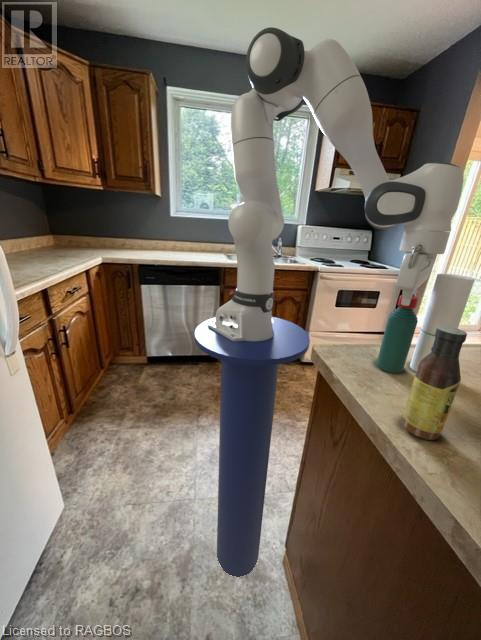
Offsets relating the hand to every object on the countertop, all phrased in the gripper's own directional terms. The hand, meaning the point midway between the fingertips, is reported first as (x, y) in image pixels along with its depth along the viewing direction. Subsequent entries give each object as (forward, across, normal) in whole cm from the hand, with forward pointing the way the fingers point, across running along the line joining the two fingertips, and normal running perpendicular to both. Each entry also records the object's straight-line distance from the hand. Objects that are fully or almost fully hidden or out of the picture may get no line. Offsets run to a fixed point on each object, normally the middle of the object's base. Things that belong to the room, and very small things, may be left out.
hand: (407, 302), depth 66 cm
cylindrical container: (+18, +6, -7) cm, 20 cm away
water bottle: (+18, 0, 0) cm, 18 cm away
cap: (-1, 0, 0) cm, 1 cm away
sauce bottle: (+18, -22, -10) cm, 30 cm away
